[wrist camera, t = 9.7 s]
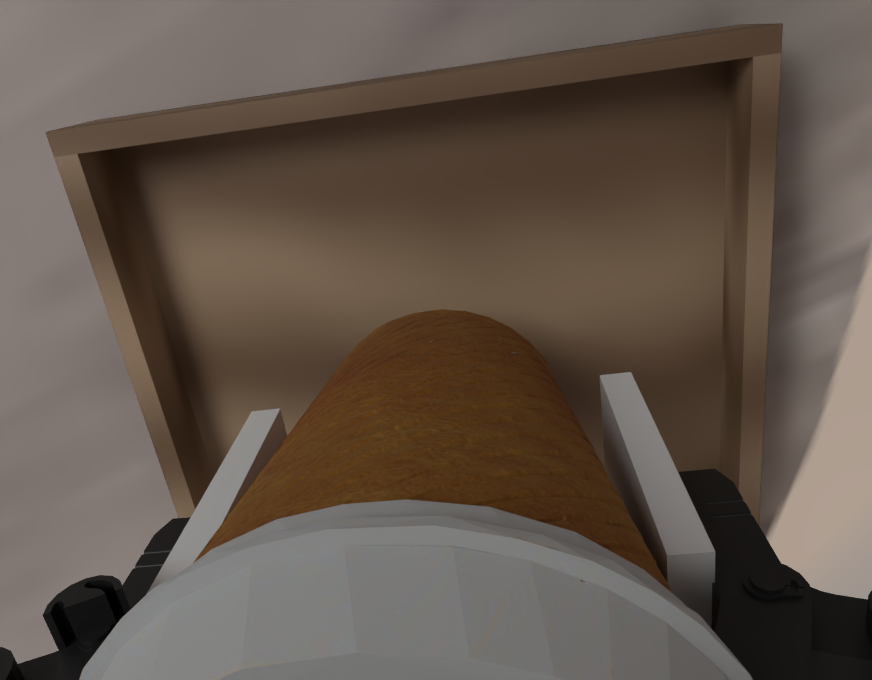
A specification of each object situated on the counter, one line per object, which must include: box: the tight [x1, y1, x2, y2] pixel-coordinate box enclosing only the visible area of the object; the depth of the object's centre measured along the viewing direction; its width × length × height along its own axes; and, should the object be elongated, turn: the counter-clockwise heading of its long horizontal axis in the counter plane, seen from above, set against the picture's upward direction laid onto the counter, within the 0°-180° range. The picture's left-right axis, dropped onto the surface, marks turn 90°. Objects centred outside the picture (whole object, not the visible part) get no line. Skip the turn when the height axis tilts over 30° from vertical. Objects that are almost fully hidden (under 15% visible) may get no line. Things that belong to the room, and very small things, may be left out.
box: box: [46, 24, 783, 525], centre depth 21 cm, size 17×17×2 cm
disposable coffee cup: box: [79, 309, 753, 680], centre depth 14 cm, size 10×10×12 cm
